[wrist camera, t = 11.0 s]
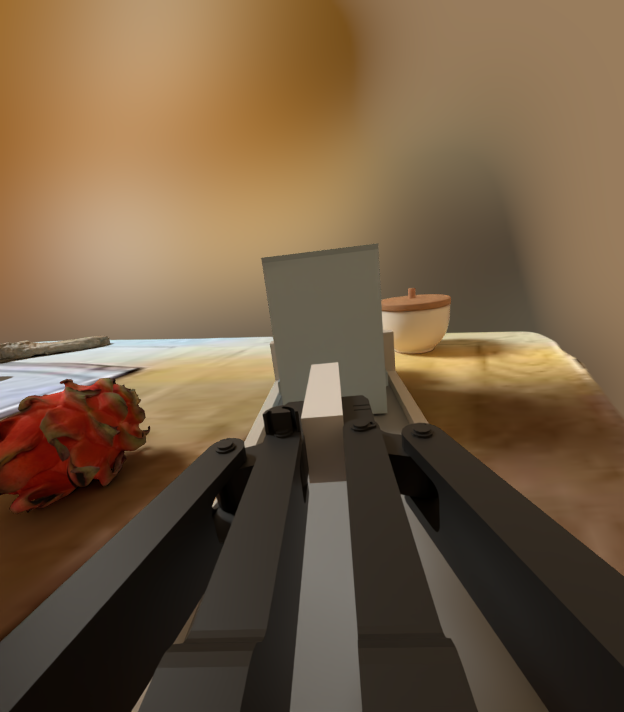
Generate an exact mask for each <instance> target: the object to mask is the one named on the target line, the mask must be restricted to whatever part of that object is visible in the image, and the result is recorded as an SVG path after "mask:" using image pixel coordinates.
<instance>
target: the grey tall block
mask: <svg viewBox="0 0 624 712" xmlns="http://www.w3.org/2000/svg"><path fill="white" fill-rule="evenodd" d="M261 259H262V265H263V272H264V279H265V285H266V291H267V299H268V305H269V312H270V318H271V325H272V332H273V339H274V346H275V353H276V359H277V366H278V373H279V380H278V388H279V395H282V400H283V405H285V404H287V403H288V402H296V401H304V400H305V395H306V390H307V385H308V380H309V375H310V369H311V365H314V364H325V363H335V362H338V366H339V376H340V386H341V397H345V396H357V395H363V396H365V397H366V398H368V400H369V403H370V406H371V410H372V413H373V414H380V413H387V395H386V386H388V372H387V370H386V368H385V359H384V341H383V323H382V305H381V288H380V269H379V252H378V244H372V245H363V246H354V247H346V248H338V249H330V250H322V251H314V252H306V253H299V254H290V255H282V256H274V257H265V258H261Z"/></svg>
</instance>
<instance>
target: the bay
mask: <svg viewBox="0 0 624 712" xmlns="http://www.w3.org/2000/svg"><path fill="white" fill-rule="evenodd" d="M383 341H384V359H385V368H386V370H387V372H388V386H386V395H387V413H380V414H373V416H374V420H375V422H377V423H378V425H379V426H380V430H382V431H384V432H387V433H392V434H400V435H402V434H401V432H402V429H403V428H404V427H405V426H407V425H410V424H413V423H428V422H427V420H426V418H425V417H424V415H423V414H422V412H421V410H420V409H419V407H418V406H417V404H416V402H415V401H414V399H413V398H412V396H411V394H410V393H409V391H408V390H407V388H406V386H405V385H404V383H403V382H402V380H401V378H400V377H399V375H398V374H397V372H396V370H395V354H394V333H393V331H392V330H383ZM270 347H271V354H272V361H273V367H274V374H275V380H276V381H275V383H274V385H273V387H272V389H271V391H270V393H269V395H268V397H267V399H266V401H265V403H264V405H263V406H262V408H261V410H260V412H259V414H258V416H257V418H256V420H255V422H254V424H253V426H252V428H251V430H250V432H249V434H248V436H247V438H246V440H245V442H244V445H245V448H246V447H250V446H254V445H257V444H260V443H263V441H264V438H265V435H266V432H265V426H264V421H263V415H262V414H263V413H264V412H265V411H266V410H268V409H270V408H273V407H276V406H281V405H283V400H282V395H279V388H278V380H279V373H278V366H277V359H276V353H275V346H274V341H272V342H271V343H270ZM428 424H429V423H428ZM308 486H309V502H308V513H307V524H306V535H305V546H304V558H303V569H302V580H301V591H300V603H299V614H298V625H297V636H296V647H295V659H294V670H293V681H292V692H291V704H290V712H362V701H361V687H360V673H359V658H358V641H357V640H358V632H357V618H356V605H355V591H354V577H353V564H352V550H351V536H350V522H349V509H348V495H347V481H342V482H326V483H310V482H309V474H308ZM401 498H402V501H403V504H404V507H405V511H406V514H407V517H408V520H409V524H410V527H411V530H412V533H413V537H414V540H415V543H416V546H417V550H418V553H419V556H420V559H421V563H422V566H423V569H424V572H425V575H426V579H427V582H428V585H429V588H430V592H431V595H432V598H433V601H434V605H435V608H436V611H437V614H438V618H439V621H440V624H441V627H442V630H443V633H444V634H445V636H446V638H451V639H452V641H453V643H454V645H455V646H456V649H457V651H458V654H459V657H460V659H461V662H462V665H463V668H464V671H465V674H466V677H467V680H468V683H469V686H470V689H471V692H472V695H473V698H474V701H475V704H476V707H477V710H478V712H549V711H548V709H547V708H546V707H545V705H544V704H543V702H542V701H541V699H540V698H539V696H538V695H537V693H536V692H535V690H534V689H533V688H532V686H531V685H530V683H529V682H528V680H527V679H526V677H525V676H524V674H523V673H522V671H521V670H520V668H519V667H518V666H517V664H516V663H515V661H514V660H513V658H512V657H511V655H510V654H509V652H508V651H507V649H506V648H505V646H504V645H503V644H502V642H501V641H500V639H499V638H498V636H497V635H496V633H495V632H494V630H493V629H492V627H491V626H490V625H489V623H488V622H487V620H486V619H485V617H484V616H483V614H482V613H481V611H480V610H479V608H478V607H477V605H476V604H475V603H474V601H473V600H472V598H471V597H470V595H469V594H468V592H467V591H466V589H465V588H464V586H463V585H462V584H461V582H460V581H459V579H458V578H457V576H456V575H455V573H454V572H453V570H452V569H451V567H450V566H449V564H448V563H447V562H446V560H445V559H444V557H443V556H442V554H441V553H440V551H439V550H438V548H437V547H436V545H435V544H434V543H433V541H432V540H431V538H430V537H429V535H428V534H427V532H426V531H425V529H424V528H423V526H422V525H421V523H420V522H419V521H418V519H417V518H416V516H415V515H414V513H413V512H412V510H411V509H410V507H409V506H408V504H407V503H406V501H405V498H404V495H401ZM216 503H217V498H216V500H215V502H214V504H213V506H214V505H215V504H216ZM213 506H212V507H213ZM204 594H205V593H204ZM203 597H204V595H203V596H202V598H201V600H200V601H199V603H198V604H197V606H196V608H195V609H194V611H193V613H192V614H191V616H190V617H189V619H188V621H187V622H186V624H185V626H184V627H183V629H182V630H181V632H180V634H179V635H178V637H177V638H176V640H175V642H174V643H173V644H180V643H183V642H184V641H185V640H186V639H187V637H188V635H189V633H190V631H191V628H192V626H193V623H194V620H195V618H196V615H197V613H198V610H199V607H200V605H201V602H202V600H203ZM152 678H153V677H152ZM151 680H152V679H151ZM150 682H151V681H150ZM150 682H149V684H148V685H147V687H146V689H145V690H144V692H143V694H142V695H141V697H140V698H139V700H138V702H137V703H136V705H135V707H134V708H133V710H132V711H131V712H138V710H139V708H140V705H141V703H142V701H143V699H144V696H145V694H146V692H147V689H148V687H149V685H150Z"/></svg>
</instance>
